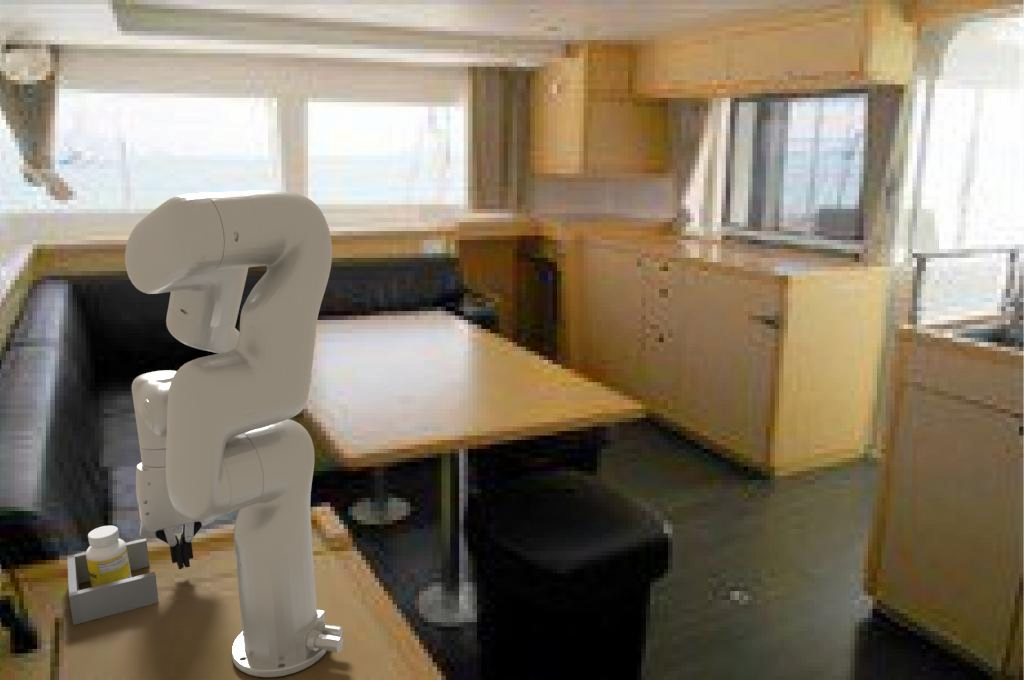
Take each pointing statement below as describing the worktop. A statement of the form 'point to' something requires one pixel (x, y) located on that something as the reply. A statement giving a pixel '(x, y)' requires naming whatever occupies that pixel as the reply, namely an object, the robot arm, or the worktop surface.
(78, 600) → the box
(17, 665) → the worktop surface
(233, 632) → the worktop surface
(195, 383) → the robot arm
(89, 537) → the supplement bottle
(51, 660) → the worktop surface
